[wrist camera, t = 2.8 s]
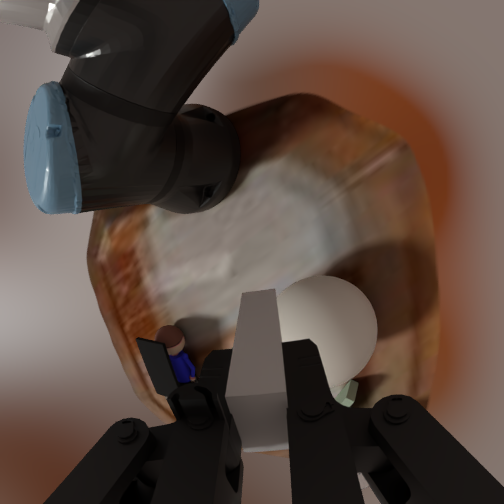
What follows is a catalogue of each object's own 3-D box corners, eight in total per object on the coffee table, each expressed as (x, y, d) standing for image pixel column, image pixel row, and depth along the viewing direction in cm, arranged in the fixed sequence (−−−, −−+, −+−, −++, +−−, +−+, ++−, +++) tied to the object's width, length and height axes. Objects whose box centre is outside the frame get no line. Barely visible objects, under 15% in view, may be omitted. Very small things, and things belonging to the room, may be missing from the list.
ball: (289, 257, 33) (243, 288, 22) (386, 270, 28) (389, 312, 17) (283, 342, 35) (242, 393, 25) (368, 358, 30) (356, 422, 20)
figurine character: (215, 390, 45) (190, 321, 42) (192, 418, 39) (158, 347, 35) (187, 383, 48) (160, 318, 45) (163, 407, 42) (130, 340, 38)
